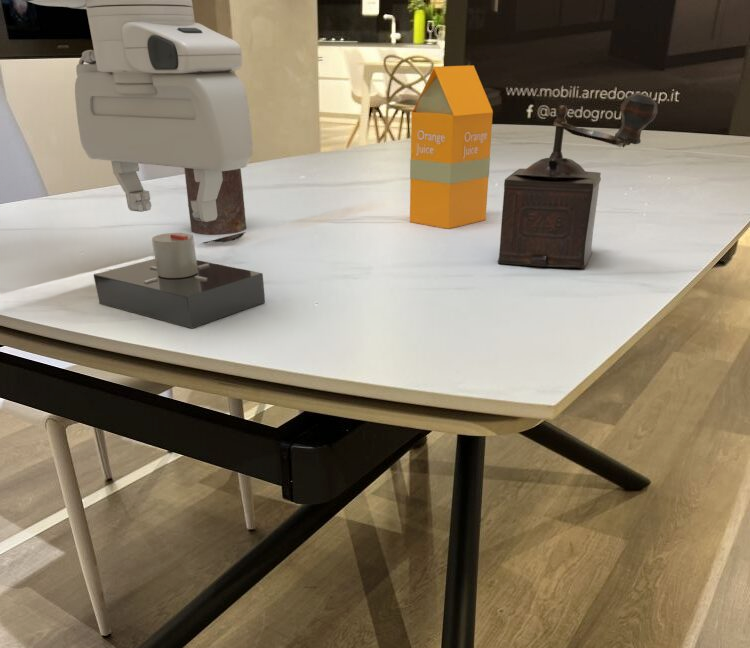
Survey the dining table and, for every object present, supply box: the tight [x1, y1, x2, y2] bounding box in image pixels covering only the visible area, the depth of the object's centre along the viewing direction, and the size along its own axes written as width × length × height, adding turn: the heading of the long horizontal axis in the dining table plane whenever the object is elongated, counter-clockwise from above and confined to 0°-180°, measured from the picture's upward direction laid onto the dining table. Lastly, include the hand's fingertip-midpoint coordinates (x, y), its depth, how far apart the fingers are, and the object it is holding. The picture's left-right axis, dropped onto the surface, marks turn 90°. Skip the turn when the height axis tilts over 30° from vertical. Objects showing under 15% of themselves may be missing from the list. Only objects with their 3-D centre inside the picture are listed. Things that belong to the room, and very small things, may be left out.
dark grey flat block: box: [93, 258, 266, 329], centre depth 75 cm, size 14×10×3 cm
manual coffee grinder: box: [497, 92, 659, 269], centre depth 86 cm, size 16×11×18 cm
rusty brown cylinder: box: [183, 168, 247, 245], centre depth 96 cm, size 8×7×20 cm
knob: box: [151, 232, 198, 278], centre depth 74 cm, size 4×4×4 cm
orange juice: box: [409, 64, 494, 230], centre depth 106 cm, size 8×9×20 cm
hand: (172, 215), depth 72 cm, fingers open, 8 cm apart
